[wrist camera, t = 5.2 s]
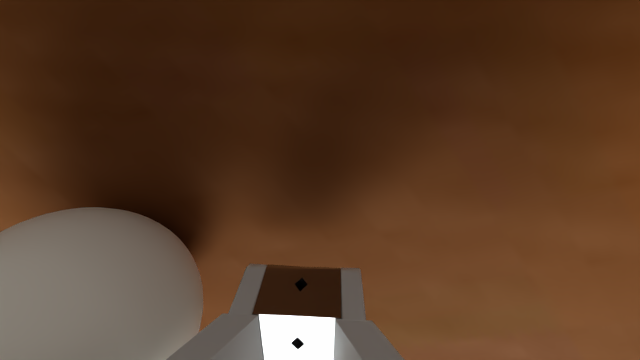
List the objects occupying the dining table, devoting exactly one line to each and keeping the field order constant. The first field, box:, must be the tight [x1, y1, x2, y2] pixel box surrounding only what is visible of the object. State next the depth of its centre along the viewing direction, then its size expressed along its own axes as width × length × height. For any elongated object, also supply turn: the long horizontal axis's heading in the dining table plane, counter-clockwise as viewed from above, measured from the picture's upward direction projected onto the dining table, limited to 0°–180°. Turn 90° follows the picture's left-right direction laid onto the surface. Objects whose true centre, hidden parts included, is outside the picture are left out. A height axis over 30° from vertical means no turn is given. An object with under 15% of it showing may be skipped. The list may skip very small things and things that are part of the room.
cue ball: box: [0, 207, 203, 360], centre depth 8 cm, size 6×6×6 cm
